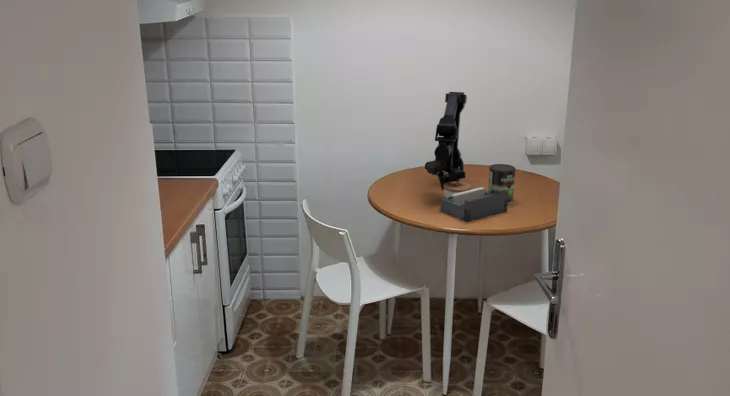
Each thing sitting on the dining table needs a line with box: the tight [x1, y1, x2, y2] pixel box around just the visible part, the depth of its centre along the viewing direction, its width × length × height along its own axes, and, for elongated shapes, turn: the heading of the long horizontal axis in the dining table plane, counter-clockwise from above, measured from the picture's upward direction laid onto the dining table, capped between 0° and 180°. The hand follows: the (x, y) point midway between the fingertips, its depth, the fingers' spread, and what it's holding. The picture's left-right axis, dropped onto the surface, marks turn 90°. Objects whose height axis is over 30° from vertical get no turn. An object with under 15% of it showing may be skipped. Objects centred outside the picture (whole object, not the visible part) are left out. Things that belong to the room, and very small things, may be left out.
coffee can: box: [487, 163, 516, 206], centre depth 283 cm, size 10×10×14 cm
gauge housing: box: [439, 190, 508, 223], centre depth 273 cm, size 21×15×8 cm
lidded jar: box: [443, 180, 472, 198], centre depth 280 cm, size 11×11×9 cm
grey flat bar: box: [448, 186, 486, 205], centre depth 275 cm, size 18×2×6 cm, turn 125°
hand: (443, 190), depth 287 cm, fingers closed
